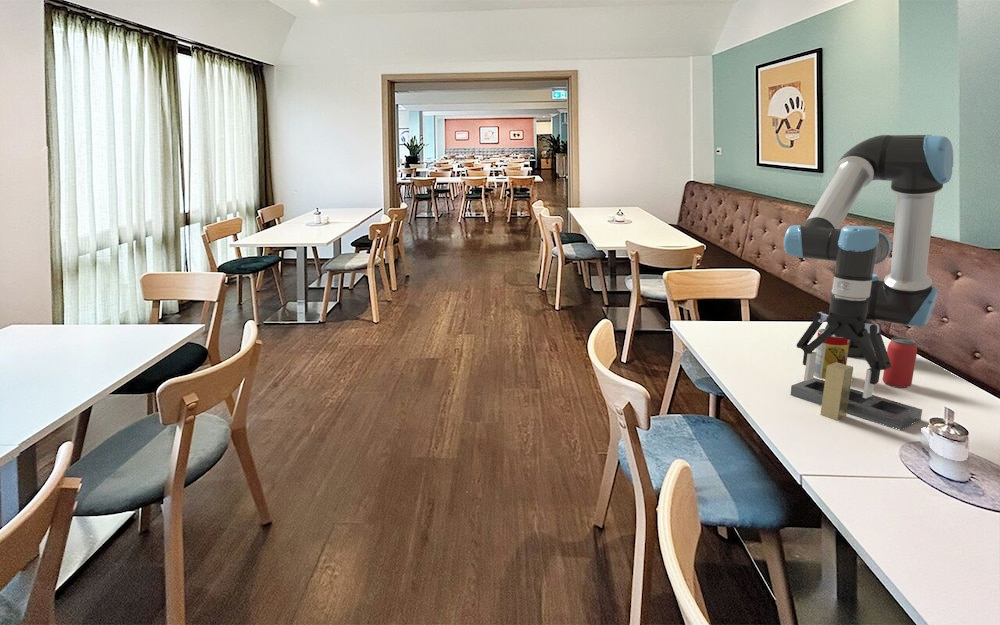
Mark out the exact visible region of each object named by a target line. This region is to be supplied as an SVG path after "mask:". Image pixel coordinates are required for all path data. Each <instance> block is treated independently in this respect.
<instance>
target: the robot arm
mask: <svg viewBox="0 0 1000 625" xmlns="http://www.w3.org/2000/svg"><path fill="white" fill-rule="evenodd" d="M953 167H954V148H953V145H952V142H951V140H950V139H949V138H948V137H947V136H945V135H932V134H909V135H908V134H899V135H898V134H897V135H896V134H893V135H890V134H881V135H875V136H873V137H869V138H867V139H864V140H863V141H861V142H859V143H857V144H855V146H852V147H851V148H850V149H849V150H847V151H846V152H845V153H844V154H843V155H842V156H841V157H840V159H839V160H838V161H837V163H836V165H835V167H834V176H833V177H832V179H831V180H830V181H829V184H828V185H827V187H826V188H825V190H824V191H823V193H822V195H821V197H820V198H819V200H818V201H817V203H816V204H815V206H814V207H813V209H812V211H811V213H810V214H809V215H808V217H807V219H806V220H805V222H803V225H801V224H798V225H796V224H795V225H794V224H793V225H789V227H788V228H787V230H786V231H785V234H784V238H783V250H784V252H785V254H786V255H788V256H791V257H792V256H793V257H797V258H801V259H811V260H822V261H829V262H830V261H831V262H835V269H834V274H833V275H834V276H833V283H832V289H831V296H830V303H829V310H828V311H829V312H828V314H826V313H825V312H824V311H818V312H815V313H814V315H813V319H812V322H811V323H810V325H809V326H808V328H807V329H806V330H805V332H804V333H803V334H802V336H801V338H800V339H799V341H798V342H797V343H796V348H797V349H800V350H802V351H803V359H802V365H803V366H805V370H804V375H803V376H804V377H803V381H808V380H811V379H813V378H814V368H815V361H816V352H815V350H816V348H817V347H818V346H819V345H821V344H822V343H823V342H824V341H826V340H827V339H828V338H829V337H831V336H832V335H835V337H843V338H845V339H848V340H850V343H849V350H848V357H856V358H858V357H859V358H861V357H862V358H863V357H864V359H865V361H866V362H867V364H868V366H869V368H867V369H866V372H865V378H864V379H865V381H864V385H863V391H862V392H863V398H869V397H871V396H872V395H873V392H874V386H875V385H877V384H878V383H879V382H880V376H881V375H880V374H881V371H884V370H885V369H888V368H890V367H891V363H890V360H889V357H888V354H887V348H886V346H885V343H884V340H883V337H882V331H881V330H882V324H881V323H873V321H877V322H882V323H883V322H884V323H890V324H894V325H895V324H896V325H900V326H906V327H915V328H916V327H917V328H922V327H925V326H926V325H927V324H928V322H929V321H930V318H931V316H932V314H933V311H934V308H935V306H936V302H937V299H938V295H939V288H937V287H935V286H933V280H932V278H931V277H930V276H929V275H928V274H927V273H928V265H929V264H928V263H929V253H930V247H931V246H930V242H931V235H932V227H933V225H932V224H933V217H934V207H935V196H936V194H937V193H939V192H940V191H941V190H942V189H943V188H944V187H943V186H944V184H947V183H949V182H950V181H951V179H952V175H953ZM872 181H887V182H888V181H890V184H891V185H890V190H891V191H892V192H894V193H895V195H896V203H895V215H894V226H893V227H894V228H893V241H891V239H890V237H889V236H888V235H887V234H886V233H884V232H882V231H880V230H879V229H878V228H876V227H874V226H868V225H867V226H866V225H845V226H843V227H842V228H841V229H840V227H841V225H842V223H843V221H844V220H845V219H846V217H847V215H848V213H849V212H850V210H851V209H852V207H853V205H854V203H855V201H856V200H857V198H858V197H859V195H860V193H861V191H862V190H863V188H865V187H867V186H868V185H869V184H870V183H871V182H872ZM890 254H891V265H890V266H891V267H890V272H889V273H888V274H887V275H885V277H884V279H883V280H880V276H879V275H878V274H876V273H875V274H874V270H875V265H877V264H878V265H879V264H880V263H883V261H885V260H886V259H887V258H888V257H889V256H890ZM825 322H826V325H825V327H824V329H826V330H825V331H824V332H823V333H822V334H821V335H820V336H819V337H816V338H815V339H814V340H812V339H813V338H814V336H815V334H816V333H818V330H820V327H821V326H822V324H823V323H825ZM811 340H812V341H811Z"/></svg>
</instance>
